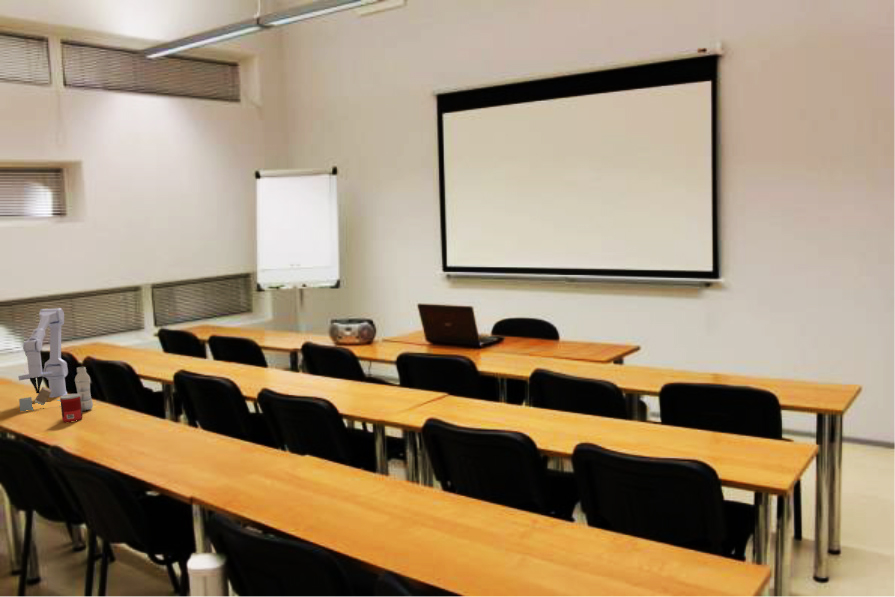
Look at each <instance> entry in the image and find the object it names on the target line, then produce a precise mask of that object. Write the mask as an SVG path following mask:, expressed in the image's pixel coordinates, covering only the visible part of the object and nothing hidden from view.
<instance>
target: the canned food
mask: <svg viewBox="0 0 895 597" xmlns="http://www.w3.org/2000/svg"><path fill="white" fill-rule="evenodd" d="M59 400H60V402H61V406H60V409H61V419H62V421H64V422H63V423H66V422H69V423H72V422H71V421H76V420H79V421H81V420H83V411H82V406H81V397H80V394H77V393H69V394H68V393H67V395H64V396H59ZM80 419H81V420H80ZM76 422H77V421H76Z"/></svg>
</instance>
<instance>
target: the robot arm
mask: <svg viewBox="0 0 895 597" xmlns="http://www.w3.org/2000/svg"><path fill="white" fill-rule="evenodd" d="M38 316H39V317H38V318H39V323H38V324H37V328H34V329H33V331H32V332H31V334H30V336H29V338H28V340H25V341H24V342H23V346H22V348H23V351H24V354H25V357H26V361H27V367H28V370H27V371H28V373H27V374H22V375H18V381H23V380H29V381H30V383H31V385H32V386H33V388H34V391H35V393H36V394H39V393H40V391H41V386H42V382H43V378H46V380H48V387H49V388H48V389H49V390H51V394H50V395H49V398H50V399H51V398H60V397H61V396H64V395H68V391H67V388H66V377H67V376H68V374H69V369H68V363H67V361H66V360H64V359H62V326H63V325H64V324H65V313H64V310H63V309H62V307H58V308H42V309H40V310H39V313H38ZM48 327H49V329H50V330H49V331H50V332H49V333H50V334H49V336H50V337H49V359H48V360H47V361H45V363H44V366H42V365H43V364H42V355H41V351H42V350H43V341H44V338H45V337H46V335H47V334H46V330H47V328H48ZM43 367H44V368H43Z"/></svg>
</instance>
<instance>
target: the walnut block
mask: <svg viewBox="0 0 895 597" xmlns="http://www.w3.org/2000/svg"><path fill="white" fill-rule="evenodd" d="M50 394H51V390H50V388H47V387H44V386H42V387H41V388H40V393H37V396H36V397H35V398H34V403H38V404H41V405H44V404H45V402H46V401H48V398H50V396H49V395H50Z"/></svg>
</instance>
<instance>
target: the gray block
mask: <svg viewBox="0 0 895 597" xmlns="http://www.w3.org/2000/svg"><path fill="white" fill-rule="evenodd" d="M18 400H19V404H18V405H19V407H20V411H25V412H27V411H26V410H32V411H34V410H33V407H32V403H33V399H32V397H31V396H30V397H24V398H23V397H22V398H19V399H18Z"/></svg>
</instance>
